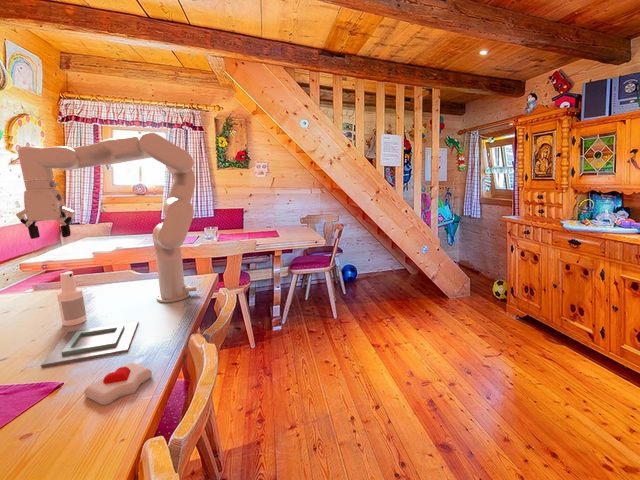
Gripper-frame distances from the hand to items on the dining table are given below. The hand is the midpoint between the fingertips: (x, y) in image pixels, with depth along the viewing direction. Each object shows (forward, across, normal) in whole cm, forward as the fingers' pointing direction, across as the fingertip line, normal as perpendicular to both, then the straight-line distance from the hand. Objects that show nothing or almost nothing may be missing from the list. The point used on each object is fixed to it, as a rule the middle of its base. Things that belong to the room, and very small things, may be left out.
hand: (51, 237), depth 107 cm
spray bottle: (+30, -4, +2) cm, 31 cm away
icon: (+31, -38, +43) cm, 65 cm away
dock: (+30, -19, +19) cm, 41 cm away
